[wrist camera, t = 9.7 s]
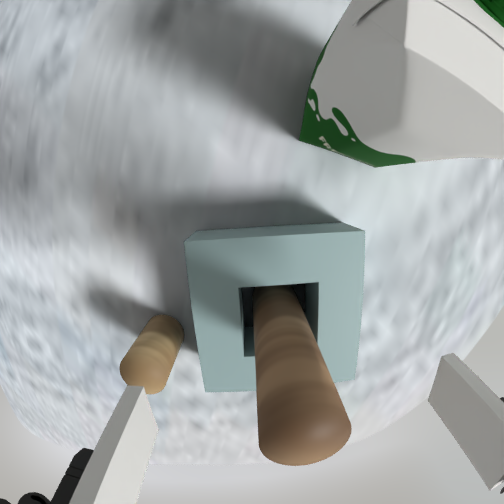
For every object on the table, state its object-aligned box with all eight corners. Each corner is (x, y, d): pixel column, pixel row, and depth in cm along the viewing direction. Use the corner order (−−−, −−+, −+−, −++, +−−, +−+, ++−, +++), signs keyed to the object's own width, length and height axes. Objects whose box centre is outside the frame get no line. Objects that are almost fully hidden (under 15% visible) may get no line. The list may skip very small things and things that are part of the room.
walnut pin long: (251, 278, 25) (256, 412, 9) (294, 275, 25) (357, 400, 9) (253, 317, 26) (260, 468, 10) (294, 314, 26) (345, 458, 10)
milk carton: (399, 92, 22) (571, 10, 2) (380, 182, 23) (601, 196, 4) (309, 55, 21) (406, -121, 1) (283, 149, 23) (420, 14, 3)
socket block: (196, 230, 24) (183, 241, 19) (342, 222, 24) (364, 230, 19) (211, 359, 26) (205, 392, 21) (338, 349, 26) (354, 379, 22)
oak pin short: (143, 314, 25) (114, 353, 19) (180, 314, 25) (160, 354, 19) (150, 348, 26) (126, 392, 19) (186, 349, 26) (170, 395, 19)
